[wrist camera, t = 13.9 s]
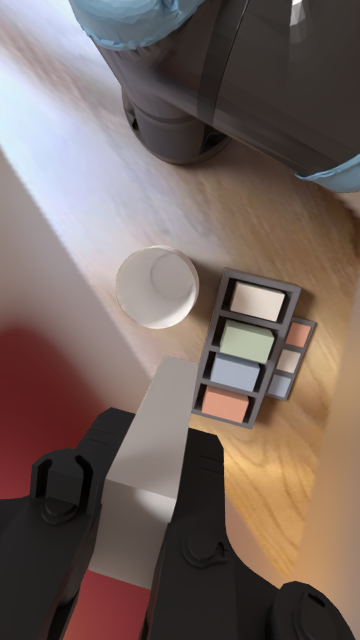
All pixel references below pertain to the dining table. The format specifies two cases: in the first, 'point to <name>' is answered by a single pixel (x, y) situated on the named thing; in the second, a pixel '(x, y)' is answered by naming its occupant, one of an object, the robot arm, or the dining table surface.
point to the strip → (289, 358)
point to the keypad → (265, 369)
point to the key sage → (246, 341)
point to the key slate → (234, 371)
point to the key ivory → (256, 300)
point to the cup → (157, 286)
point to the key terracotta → (224, 403)
